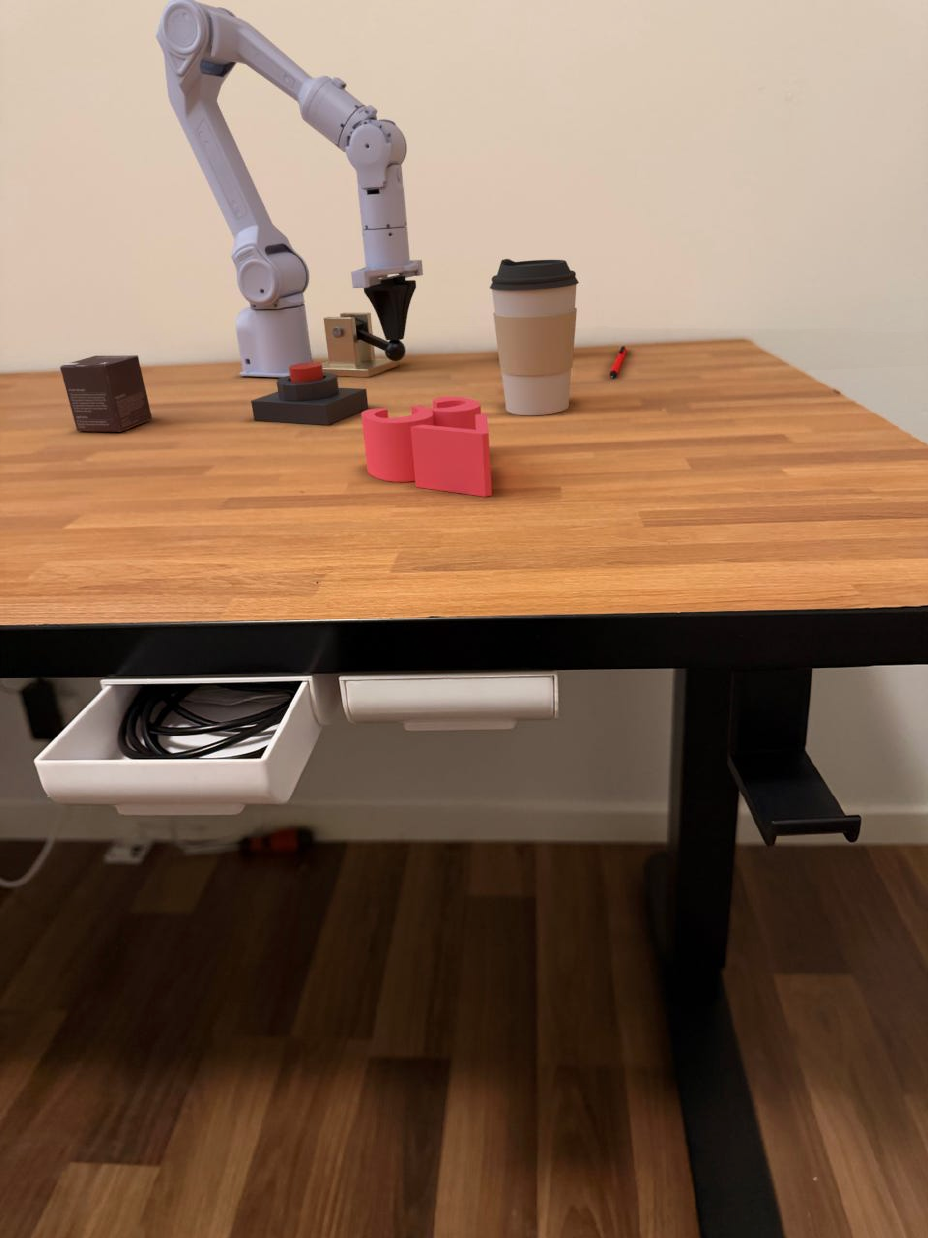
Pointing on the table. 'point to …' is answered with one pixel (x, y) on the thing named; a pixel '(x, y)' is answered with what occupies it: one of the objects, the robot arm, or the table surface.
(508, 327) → the coffee cup
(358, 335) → the black lever handle
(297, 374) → the button
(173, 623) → the table surface
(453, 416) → the letters
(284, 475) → the table surface
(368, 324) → the lever bracket
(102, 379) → the box
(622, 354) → the pen
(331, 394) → the block
